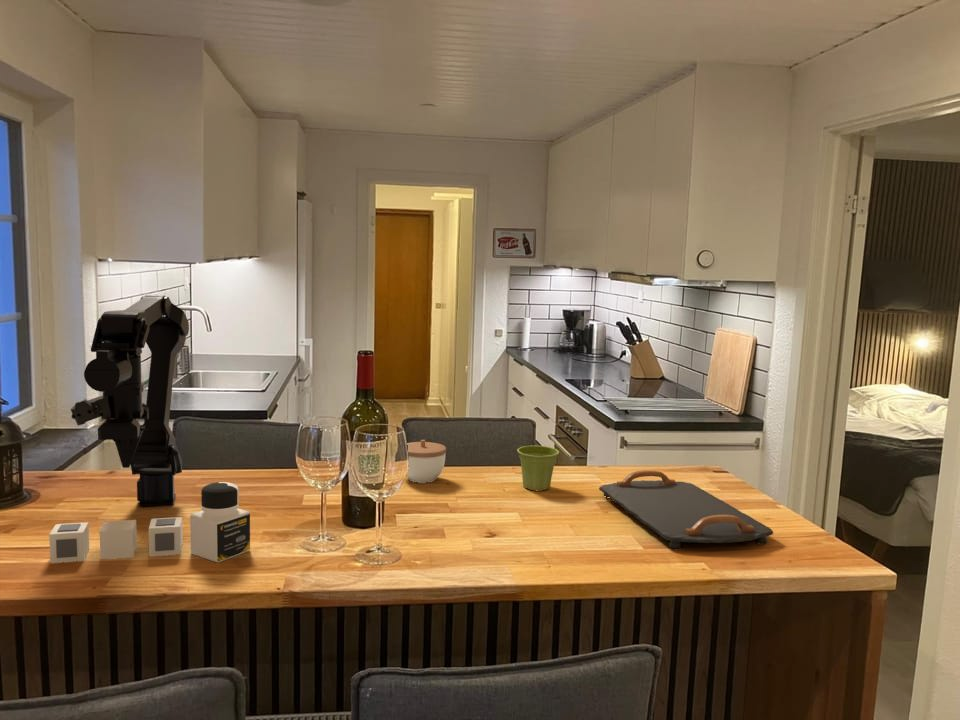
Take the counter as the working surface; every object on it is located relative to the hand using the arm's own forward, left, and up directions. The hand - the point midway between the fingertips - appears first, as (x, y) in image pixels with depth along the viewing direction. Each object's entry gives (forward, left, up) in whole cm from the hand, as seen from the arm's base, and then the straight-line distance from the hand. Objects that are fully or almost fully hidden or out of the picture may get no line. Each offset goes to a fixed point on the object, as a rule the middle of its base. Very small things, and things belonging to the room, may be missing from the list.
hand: (126, 467), depth 145 cm
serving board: (-106, +12, -13) cm, 108 cm away
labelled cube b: (+7, +11, -12) cm, 18 cm away
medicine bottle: (-17, +14, -12) cm, 25 cm away
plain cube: (0, +11, -12) cm, 16 cm away
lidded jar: (-60, -24, -12) cm, 66 cm away
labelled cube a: (-8, +11, -12) cm, 18 cm away
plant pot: (-85, -13, -12) cm, 86 cm away
